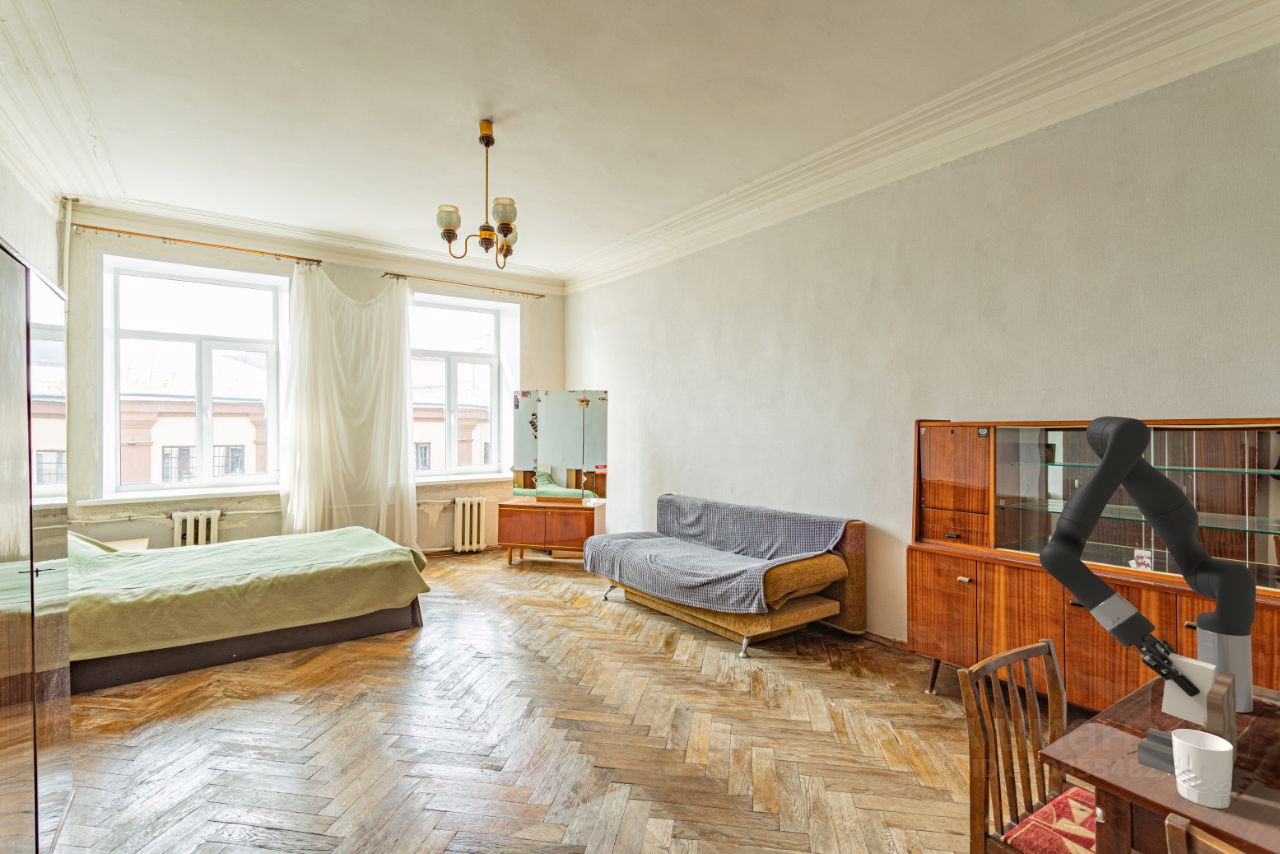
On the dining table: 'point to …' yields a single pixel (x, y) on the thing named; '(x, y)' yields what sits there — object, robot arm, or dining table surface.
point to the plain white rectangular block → (1179, 700)
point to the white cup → (1203, 767)
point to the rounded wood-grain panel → (1217, 723)
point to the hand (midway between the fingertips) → (1197, 691)
